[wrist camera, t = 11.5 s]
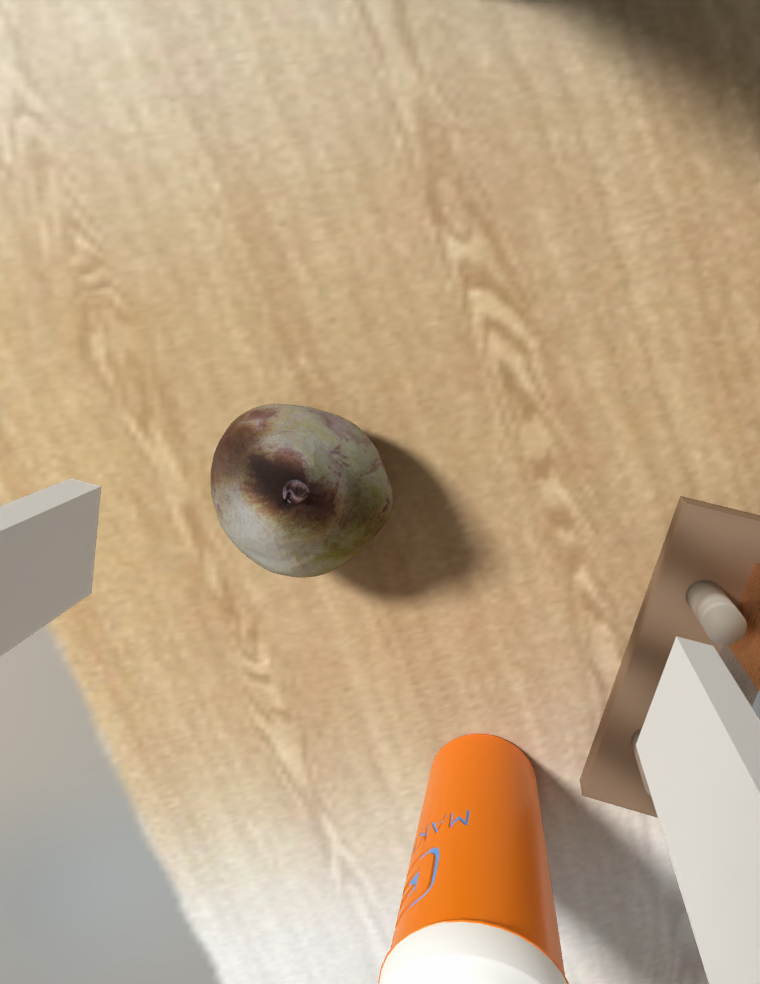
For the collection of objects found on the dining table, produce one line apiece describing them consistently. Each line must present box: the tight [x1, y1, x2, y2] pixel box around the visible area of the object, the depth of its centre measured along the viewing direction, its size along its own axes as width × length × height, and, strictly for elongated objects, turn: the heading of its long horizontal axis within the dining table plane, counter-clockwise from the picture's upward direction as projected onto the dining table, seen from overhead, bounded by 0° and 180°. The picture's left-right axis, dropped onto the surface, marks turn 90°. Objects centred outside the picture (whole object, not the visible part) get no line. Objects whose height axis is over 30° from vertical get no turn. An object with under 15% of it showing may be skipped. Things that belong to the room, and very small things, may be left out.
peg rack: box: [580, 497, 760, 818], centre depth 39 cm, size 20×13×6 cm, turn 168°
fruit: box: [211, 404, 393, 577], centre depth 37 cm, size 10×9×12 cm
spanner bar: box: [719, 562, 760, 720], centre depth 38 cm, size 16×4×6 cm, turn 168°
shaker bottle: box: [379, 734, 569, 984], centre depth 37 cm, size 9×9×20 cm
